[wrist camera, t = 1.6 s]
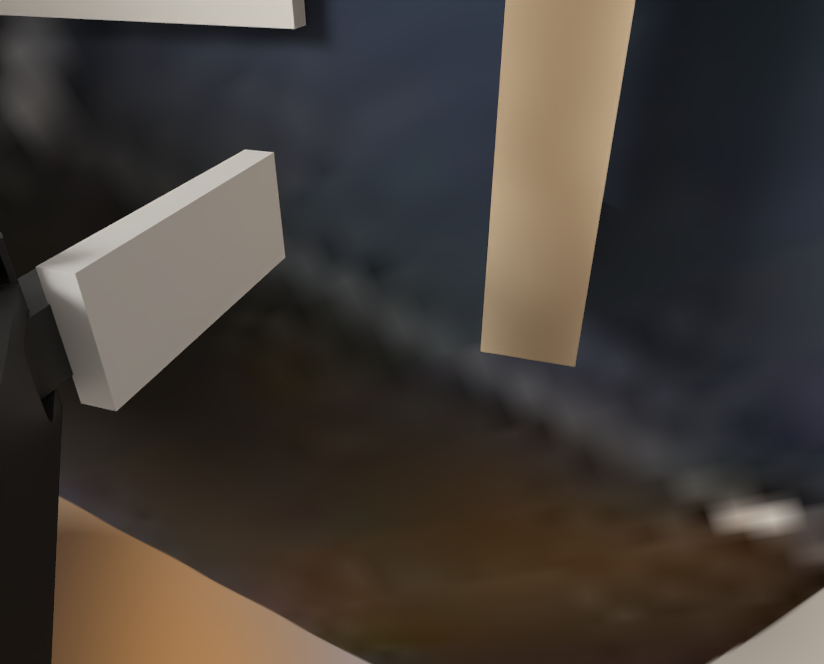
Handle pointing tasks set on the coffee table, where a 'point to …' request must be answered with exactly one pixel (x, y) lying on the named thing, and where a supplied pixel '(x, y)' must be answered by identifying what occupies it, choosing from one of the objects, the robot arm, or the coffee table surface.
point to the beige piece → (550, 170)
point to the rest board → (168, 11)
